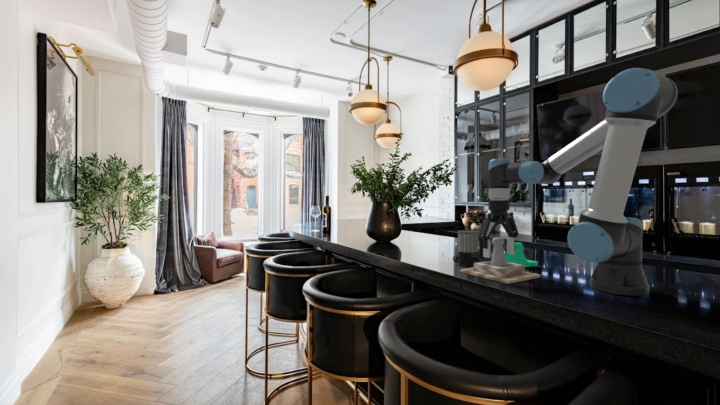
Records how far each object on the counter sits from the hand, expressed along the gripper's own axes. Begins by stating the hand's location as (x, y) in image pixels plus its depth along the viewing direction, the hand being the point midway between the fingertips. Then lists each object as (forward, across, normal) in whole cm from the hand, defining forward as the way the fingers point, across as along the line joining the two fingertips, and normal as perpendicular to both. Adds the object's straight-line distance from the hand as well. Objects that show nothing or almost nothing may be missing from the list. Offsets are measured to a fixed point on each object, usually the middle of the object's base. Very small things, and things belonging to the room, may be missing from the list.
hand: (498, 255), depth 134 cm
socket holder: (+7, 0, 0) cm, 7 cm away
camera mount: (+8, -22, -6) cm, 24 cm away
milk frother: (+8, -6, -22) cm, 24 cm away
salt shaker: (+6, 0, 0) cm, 6 cm away
